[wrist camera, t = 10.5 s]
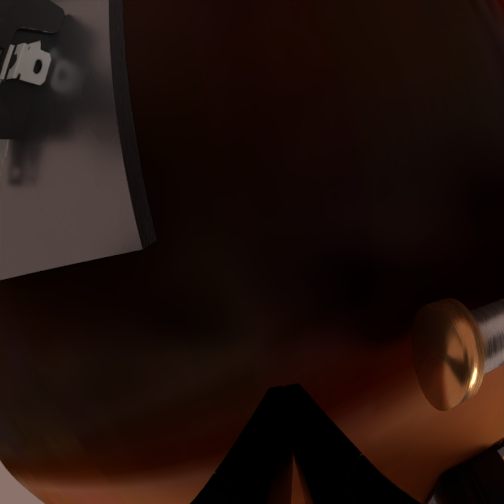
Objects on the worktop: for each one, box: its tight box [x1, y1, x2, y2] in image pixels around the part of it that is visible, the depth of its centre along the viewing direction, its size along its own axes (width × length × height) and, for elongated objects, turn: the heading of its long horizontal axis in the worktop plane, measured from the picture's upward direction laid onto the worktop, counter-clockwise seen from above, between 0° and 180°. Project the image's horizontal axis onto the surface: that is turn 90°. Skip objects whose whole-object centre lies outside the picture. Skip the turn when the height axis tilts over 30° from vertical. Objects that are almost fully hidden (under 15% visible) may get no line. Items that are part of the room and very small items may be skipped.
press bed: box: [0, 0, 157, 280], centre depth 6 cm, size 12×8×3 cm, turn 11°
